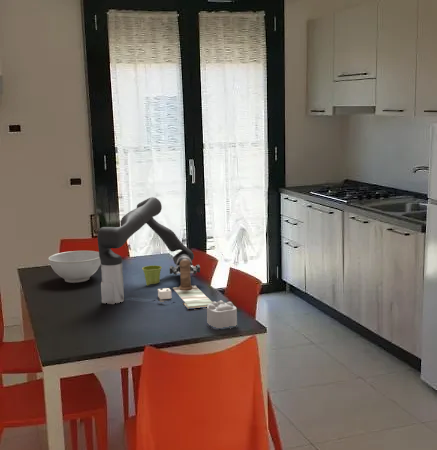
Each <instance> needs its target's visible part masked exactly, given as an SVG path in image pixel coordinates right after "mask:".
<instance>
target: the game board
mask: <svg viewBox="0 0 437 450" xmlns="http://www.w3.org/2000/svg"><path fill="white" fill-rule="evenodd" d="M172 289H173V290H174V292H175V293H176V294H177V295H178V296H179V298H180V299H182V301H183V302H182V303H183V304H184V305H185V306H186V307H187V308H188V309H189V308H200V307H207V306H208V305H209V304H211V303H212V302H213V301H212V300H211V299H210V298H209V297H208V296H206V294H205V293H204V292H203V291H202V290H201V289H199V287H198V286H197V285H192V289H191V290H180V289H179V286H178V287H177V286H176V287H172ZM183 304H182V305H183ZM184 305H183V306H184ZM185 306H184V307H185Z"/></svg>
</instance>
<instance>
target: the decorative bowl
mask: <svg viewBox="0 0 437 450" xmlns="http://www.w3.org/2000/svg"><path fill="white" fill-rule="evenodd" d="M47 259H48V264H49V265H50V267H51V268H52V270H53V272H54V273H55V274H56V275H57V276H58V277H60V278H62V279H64V282H66V283H73V284H75V283H83V282H87V281H88V280H90V279H91V278H90V277H91V276H93V275H94V274H95V273H96V272H97V271H98V269H99V268H100V267H101V261H100V257H99V251H97V250H96V251H95V250H73V251H72V250H70V251H64V252H59V253H54V254H52V255H50V256H49V257H47Z"/></svg>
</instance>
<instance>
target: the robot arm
mask: <svg viewBox="0 0 437 450" xmlns="http://www.w3.org/2000/svg"><path fill="white" fill-rule="evenodd" d="M161 212H162V202H161V201H160V199H158V198H157V197H153V196H151V197H149V198H146V199H144V200H142V201H141V202H139V203H138V204H137V205H136V207H135V208H134V209H132V210H130V211H128V212H127V213H126V214H125V215H124V216H122V218H121V219H120V226H118V227H117V226H116V227H115V226H101V227H100V228H99V230H98V232H97V248H98V252H99V257H100V261H101V264H100V273H101V275H100V276H101V282H100V293H101V304H106V303H107V305H115V303H116V304H120V302H121V303H122V302H124V301H125V298H124V297H125V296H124V295H125V294H124V275H123V274H124V273H123V257H122V255H120V254H118V253H116V252H114V251H113V250H112V249H119V248H122V247H123V246H124V245H125V244H126V243H127V242H128V240H129V239H130V238H131V237H132V236H133V235H134V234H135V233H136V232H138V231H139V230H141V228H143V226H145V225H147V226H148V227H149V228H150V229H151V230H152V231H153V232H154V233H155V234H156V235H158V237H159V238H160V239H161V241H162V242H163V243H164V244H165V246H166V247H167V249H168V250H169V252H176V251H179V252H178V253H176V254H174V255H173V257H172V261H173V263H174V264H175V265H176V266H174V265H169V274H170V275H172V274H173V275H175V276H177V275H178V274H180V261H181V260H183V259H187V260H189V261H190V274H193V275H194V276H195V275H196V274H197V273H201V266H200V264H196V265H195V266H194V265H193V262H192V261H193V260H194V258H195V255H194V252H193V251H192V250H191V249H190V248H189V247H187V246H186V245H185V244H183V243H182V241H181V240H180V238H179V237H178V236H177V234H176V233H175V232H174V231H173V230H172V229H171V228H168V227H166V226H164V225H162V224H161V223H159V222H158V221H157V220H156V219H155V218H154V217H156V216H157V215H159V214H160V213H161Z"/></svg>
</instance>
